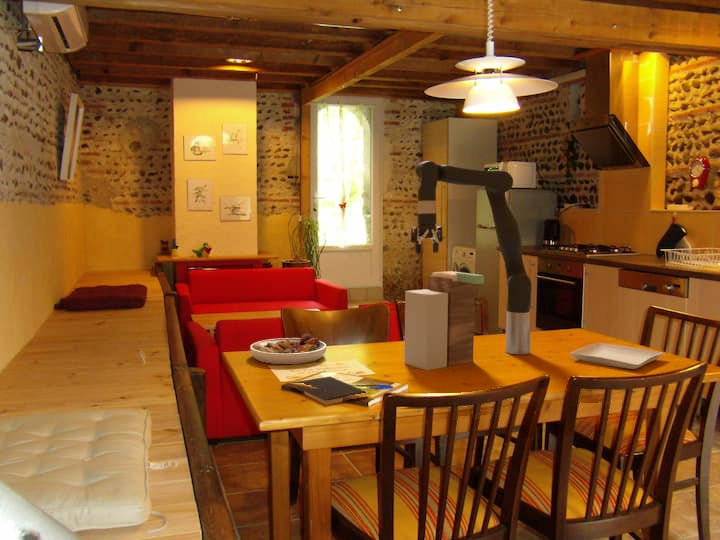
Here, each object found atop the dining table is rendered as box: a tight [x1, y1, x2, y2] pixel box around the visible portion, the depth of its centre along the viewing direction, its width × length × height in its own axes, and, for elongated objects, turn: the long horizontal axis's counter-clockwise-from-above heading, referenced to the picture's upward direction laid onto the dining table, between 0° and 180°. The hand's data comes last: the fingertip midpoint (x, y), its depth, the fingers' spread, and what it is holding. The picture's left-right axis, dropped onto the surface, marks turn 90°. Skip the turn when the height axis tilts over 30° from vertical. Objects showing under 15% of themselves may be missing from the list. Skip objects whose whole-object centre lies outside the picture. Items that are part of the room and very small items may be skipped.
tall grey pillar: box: [404, 288, 448, 371], centre depth 258 cm, size 13×10×28 cm
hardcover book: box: [291, 376, 367, 406], centre depth 221 cm, size 16×23×2 cm
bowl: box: [249, 333, 327, 365], centre depth 270 cm, size 30×30×8 cm
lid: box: [431, 270, 485, 285], centre depth 259 cm, size 21×10×3 cm, turn 35°
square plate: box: [569, 342, 664, 370], centre depth 268 cm, size 27×27×4 cm
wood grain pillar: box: [427, 275, 476, 367], centre depth 264 cm, size 13×12×33 cm
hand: (427, 253), depth 270 cm, fingers open, 8 cm apart
